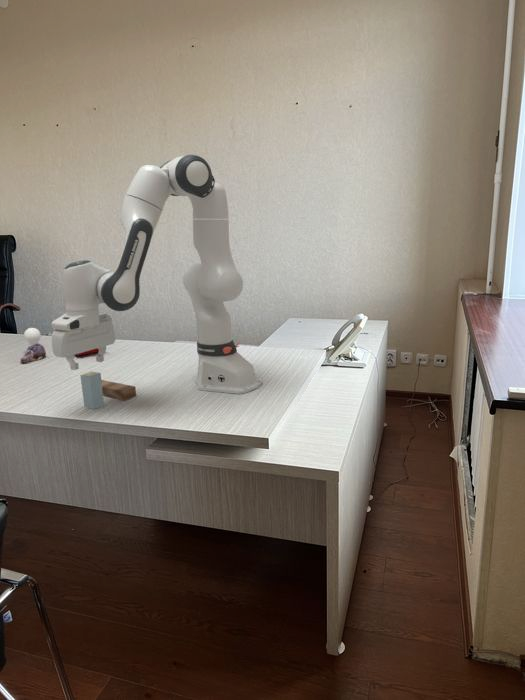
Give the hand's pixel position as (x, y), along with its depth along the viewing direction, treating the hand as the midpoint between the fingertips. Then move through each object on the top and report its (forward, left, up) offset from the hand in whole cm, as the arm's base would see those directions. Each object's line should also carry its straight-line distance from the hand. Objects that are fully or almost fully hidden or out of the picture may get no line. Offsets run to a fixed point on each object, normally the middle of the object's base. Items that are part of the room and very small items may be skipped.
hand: (87, 365), depth 155 cm
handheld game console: (+46, -40, -13) cm, 63 cm away
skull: (+61, -24, -13) cm, 67 cm away
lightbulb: (+69, -31, -13) cm, 77 cm away
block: (0, 0, -13) cm, 13 cm away
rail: (+3, -10, -13) cm, 17 cm away
